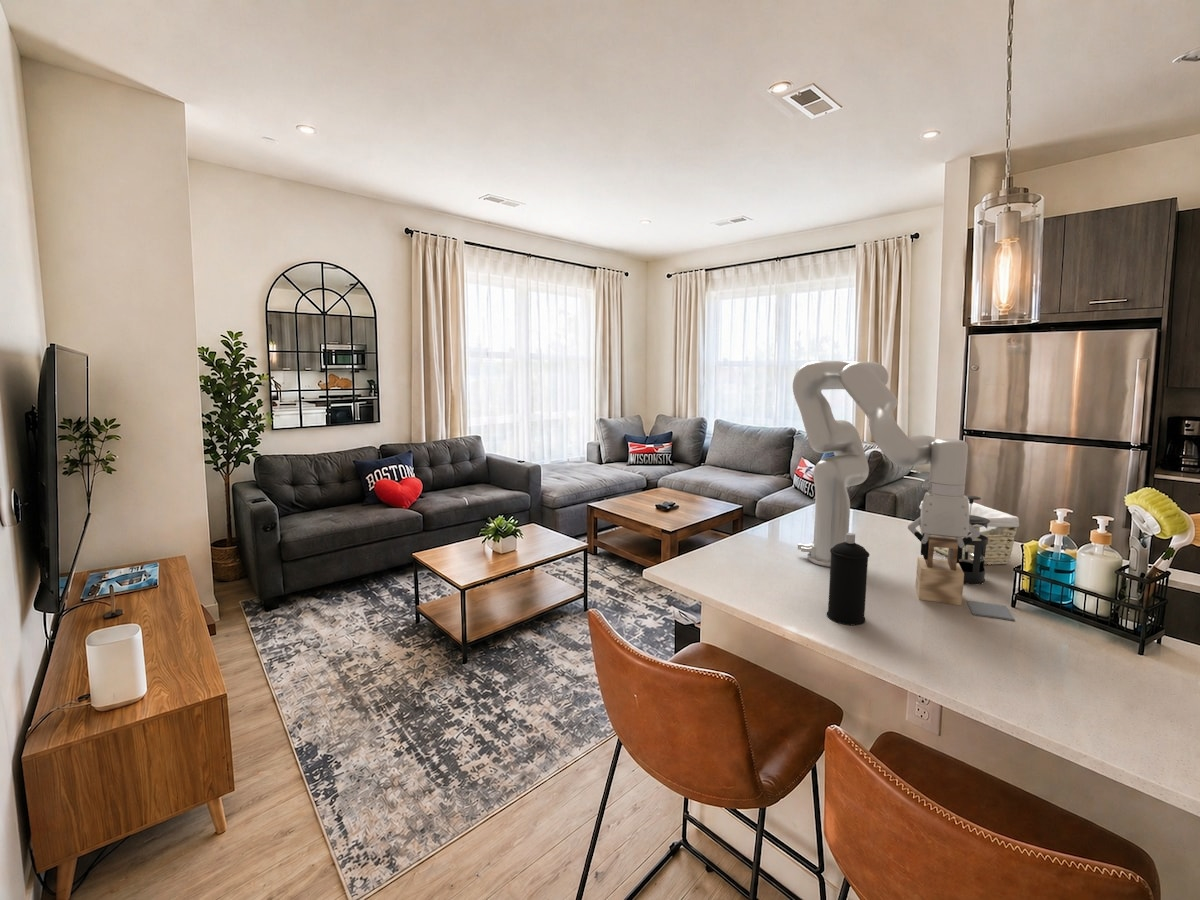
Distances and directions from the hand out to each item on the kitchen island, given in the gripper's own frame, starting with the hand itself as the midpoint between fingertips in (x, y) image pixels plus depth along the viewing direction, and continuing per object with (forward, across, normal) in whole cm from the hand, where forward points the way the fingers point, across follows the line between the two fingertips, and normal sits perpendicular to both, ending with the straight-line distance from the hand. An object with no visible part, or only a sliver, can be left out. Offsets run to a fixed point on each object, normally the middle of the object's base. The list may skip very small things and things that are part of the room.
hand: (940, 559), depth 139 cm
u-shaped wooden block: (+2, 0, 0) cm, 2 cm away
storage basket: (+10, +11, +41) cm, 43 cm away
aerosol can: (+10, -21, -23) cm, 33 cm away
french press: (+10, +8, +17) cm, 21 cm away
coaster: (+10, +10, -6) cm, 15 cm away
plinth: (+10, 0, 0) cm, 10 cm away
